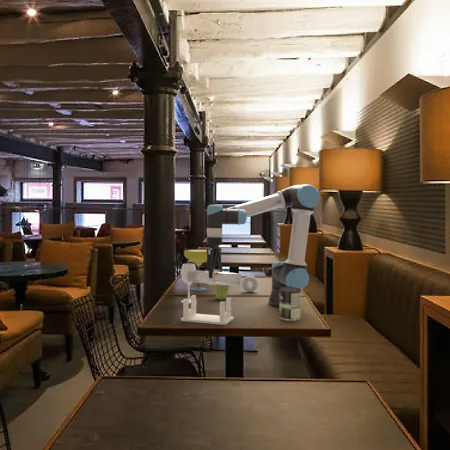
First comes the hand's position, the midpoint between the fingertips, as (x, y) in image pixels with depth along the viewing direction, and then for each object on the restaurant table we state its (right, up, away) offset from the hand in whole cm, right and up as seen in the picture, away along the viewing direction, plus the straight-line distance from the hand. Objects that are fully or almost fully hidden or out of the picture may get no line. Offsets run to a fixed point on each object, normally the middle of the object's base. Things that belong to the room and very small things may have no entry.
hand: (213, 283), depth 238 cm
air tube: (0, 0, 0) cm, 0 cm away
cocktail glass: (-11, -12, +69) cm, 71 cm away
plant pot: (+4, -14, +41) cm, 43 cm away
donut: (+21, -13, +60) cm, 65 cm away
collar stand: (-3, -16, -9) cm, 19 cm away
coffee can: (+36, -16, -5) cm, 40 cm away
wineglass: (-15, -14, +31) cm, 37 cm away
